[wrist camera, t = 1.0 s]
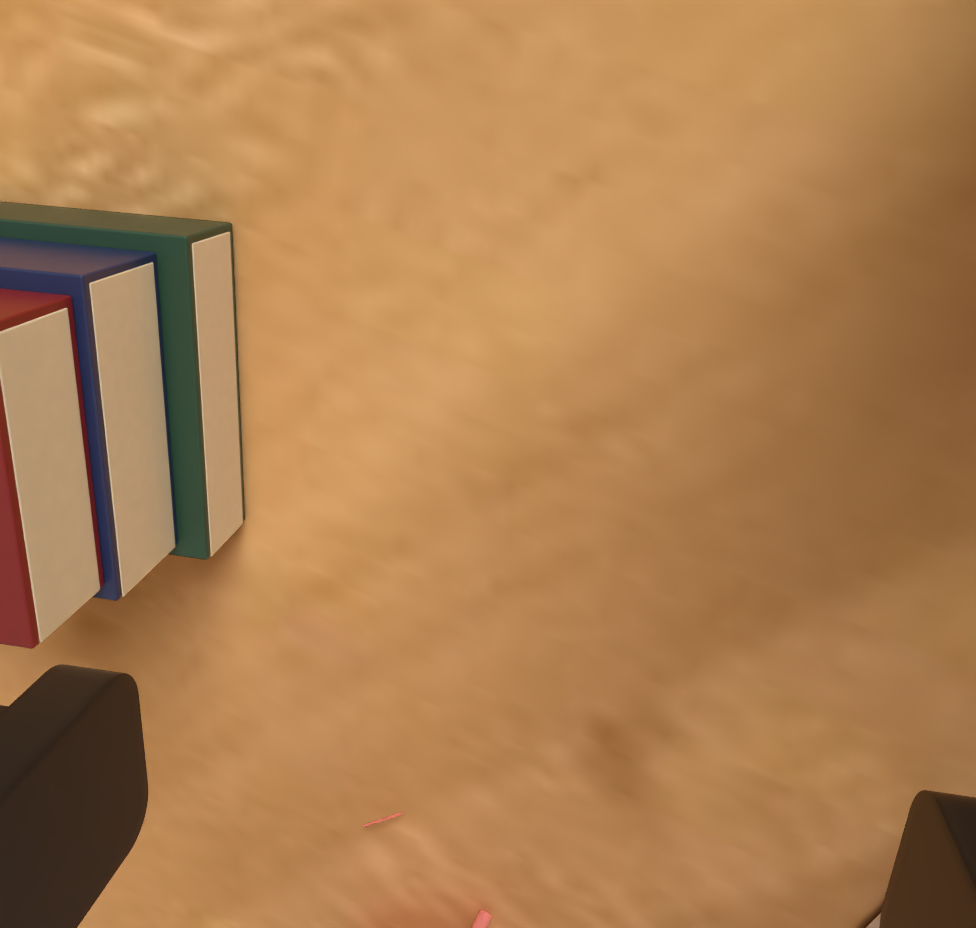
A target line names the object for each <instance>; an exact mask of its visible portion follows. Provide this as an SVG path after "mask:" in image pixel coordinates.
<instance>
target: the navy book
mask: <svg viewBox="0 0 976 928" xmlns="http://www.w3.org/2000/svg"><path fill="white" fill-rule="evenodd" d="M0 288H2V289H12V290H21V291H31V292H41V293H50V294H60V295H69V296H71V297H72V304H73V313H74V322H75V330H76V339H77V348H78V357H79V365H80V374H81V383H82V392H83V400H84V409H85V418H86V427H87V435H88V444H89V453H90V462H91V470H92V479H93V488H94V497H95V505H96V514H97V523H98V532H99V541H100V549H101V558H102V567H103V576H104V585H103V586H102V587H101V588H100V590H99V591H98V592H97V593H96V594H95V595H94V596H93V597H94V598H101V599H108V600H115V601H116V600H119V599H120V598H121V597H124V596H125V595H126V594H127V593H128V592H129V591H130V590H131V589H132V588H133V587H134V586H135V585H136V584H138V583H139V582H140V581H141V580H142V579H143V578H144V577H145V576H146V575H147V574H148V573H149V572H150V571H151V570H152V569H153V568H154V567H155V566H156V565H157V564H158V563H159V562H160V561H162V560H163V559H164V558H165V557H166V556H167V555H168V554H169V553H170V552H171V551H172V550H173V549H174V548H175V545H176V544H177V543H178V534H177V521H176V508H175V495H174V482H173V469H172V456H171V443H170V430H169V417H168V404H167V391H166V377H165V364H164V351H163V338H162V325H161V312H160V299H159V286H158V273H157V260H156V253H154V252H147V251H137V250H127V249H116V248H106V247H96V246H85V245H75V244H65V243H54V242H44V241H34V240H24V239H13V238H3V237H0Z"/></svg>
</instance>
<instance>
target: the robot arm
mask: <svg viewBox="0 0 976 928" xmlns="http://www.w3.org/2000/svg"><path fill="white" fill-rule="evenodd" d="M147 801H148V781H147V771H146V761H145V752H144V742H143V732H142V722H141V713H140V703H139V694H138V688H137V685H136V682H135V680H134V679H133V677H132V676H131V675H129V674H126V673H119V672H112V671H105V670H98V669H91V668H84V667H77V666H70V665H57V666H54V667H52V668H50V669H49V670H48V671H47V672H45V673H44V674H43V675H42V676H41V677H40V678H39V679H38V680H37V681H36V682H35V683H33V684H32V685H31V686H30V687H29V688H28V689H27V690H26V691H25V692H24V693H23V694H22V695H21V696H20V697H18V698H17V699H16V700H15V701H14V702H13V703H12V704H11V705H10V706H9V707H8V706H1V705H0V928H77V927H78V925H79V924H80V923H81V921H82V920H83V918H84V917H85V915H86V914H87V912H88V911H89V910H90V908H91V907H92V905H93V904H94V902H95V901H96V900H97V898H98V897H99V895H100V894H101V892H102V891H103V889H104V888H105V887H106V885H107V884H108V882H109V881H110V879H111V878H112V876H113V875H114V874H115V872H116V871H117V869H118V868H119V866H120V865H121V863H122V862H123V861H124V859H125V858H126V856H127V855H128V853H129V852H130V850H131V849H132V847H133V845H134V843H135V841H136V839H137V837H138V835H139V832H140V830H141V827H142V824H143V821H144V817H145V813H146V808H147ZM879 928H976V798H975V797H968V796H961V795H954V794H947V793H940V792H934V791H927V790H923V791H920V792H919V793H918V794H917V795H916V796H915V798H914V800H913V802H912V805H911V808H910V811H909V814H908V818H907V821H906V825H905V828H904V832H903V835H902V839H901V842H900V846H899V849H898V853H897V856H896V860H895V863H894V867H893V870H892V874H891V878H890V881H889V885H888V888H887V892H886V895H885V899H884V902H883V906H882V910H881V916H880V926H879Z"/></svg>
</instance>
